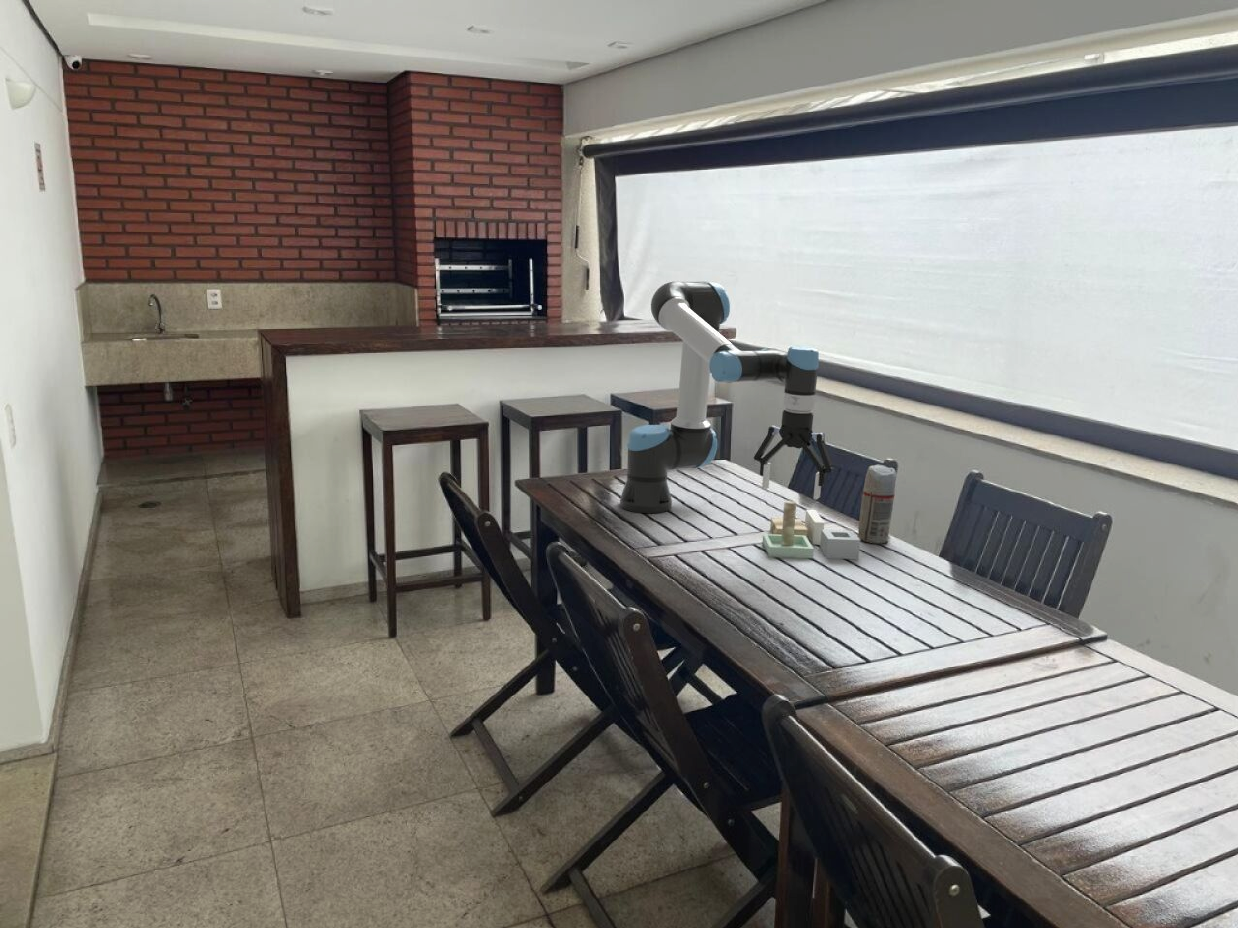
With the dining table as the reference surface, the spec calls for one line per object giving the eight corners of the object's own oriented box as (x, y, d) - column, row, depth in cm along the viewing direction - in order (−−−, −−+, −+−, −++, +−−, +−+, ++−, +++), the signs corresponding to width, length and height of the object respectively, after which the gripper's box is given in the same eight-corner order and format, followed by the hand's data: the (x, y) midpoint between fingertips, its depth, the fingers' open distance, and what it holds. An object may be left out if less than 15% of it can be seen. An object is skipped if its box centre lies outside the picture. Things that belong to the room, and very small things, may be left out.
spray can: (886, 536, 262) (894, 464, 257) (891, 545, 254) (899, 471, 249) (854, 534, 262) (861, 462, 258) (859, 543, 254) (866, 469, 250)
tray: (762, 543, 251) (763, 533, 251) (804, 544, 251) (805, 535, 251) (768, 556, 241) (769, 547, 240) (812, 558, 241) (813, 548, 240)
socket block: (820, 548, 249) (821, 529, 248) (851, 549, 249) (852, 530, 248) (826, 558, 241) (828, 538, 240) (858, 559, 241) (860, 540, 240)
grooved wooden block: (769, 532, 262) (770, 518, 262) (799, 533, 263) (800, 518, 262) (776, 543, 253) (777, 528, 252) (806, 544, 253) (807, 529, 252)
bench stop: (804, 530, 264) (806, 509, 262) (813, 531, 264) (815, 509, 262) (812, 544, 252) (814, 522, 251) (822, 544, 252) (824, 522, 251)
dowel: (779, 548, 245) (782, 503, 243) (783, 545, 248) (786, 500, 245) (790, 550, 244) (793, 504, 241) (794, 547, 246) (797, 502, 244)
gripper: (745, 405, 241) (738, 487, 246) (843, 419, 229) (834, 505, 234) (756, 401, 247) (750, 481, 252) (852, 414, 235) (843, 498, 240)
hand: (790, 493), depth 243 cm, fingers open, 13 cm apart
